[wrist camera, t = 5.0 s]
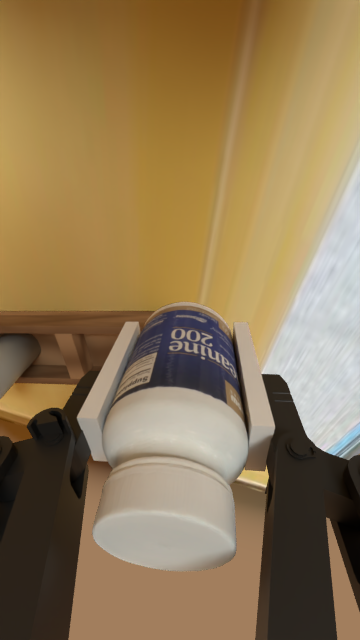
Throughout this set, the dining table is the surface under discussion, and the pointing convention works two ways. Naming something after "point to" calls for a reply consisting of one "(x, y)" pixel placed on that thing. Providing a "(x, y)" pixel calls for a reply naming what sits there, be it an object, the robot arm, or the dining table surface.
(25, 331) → the rack
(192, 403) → the pill bottle
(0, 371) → the grey rounded cylinder
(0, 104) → the dining table surface
